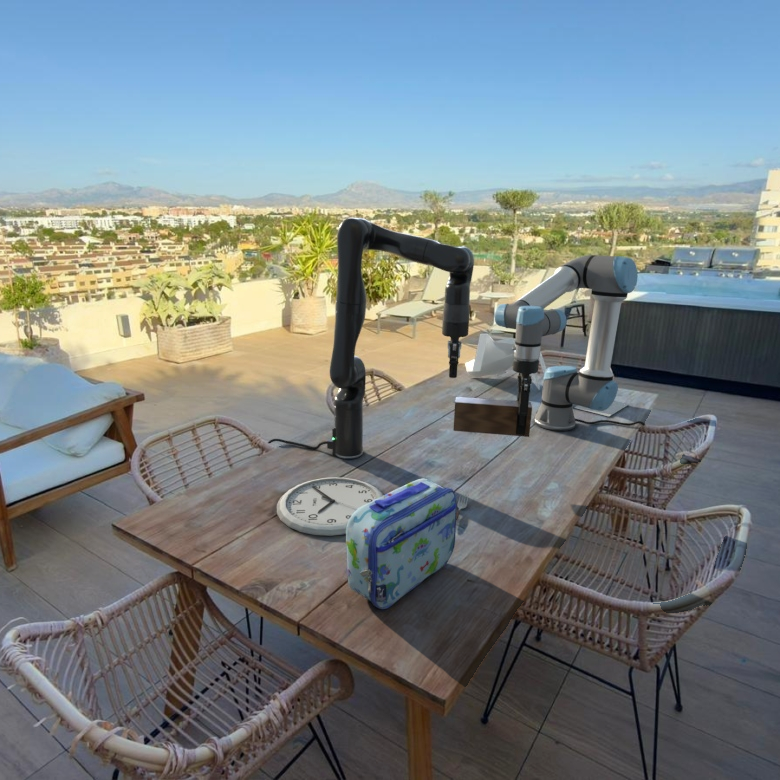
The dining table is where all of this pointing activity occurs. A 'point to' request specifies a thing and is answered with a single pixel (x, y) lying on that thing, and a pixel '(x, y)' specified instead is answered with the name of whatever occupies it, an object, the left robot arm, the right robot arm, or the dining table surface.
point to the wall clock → (324, 504)
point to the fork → (461, 506)
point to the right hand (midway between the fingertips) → (519, 430)
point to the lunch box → (400, 540)
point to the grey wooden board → (609, 411)
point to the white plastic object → (495, 358)
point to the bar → (488, 416)
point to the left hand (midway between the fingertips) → (452, 373)
